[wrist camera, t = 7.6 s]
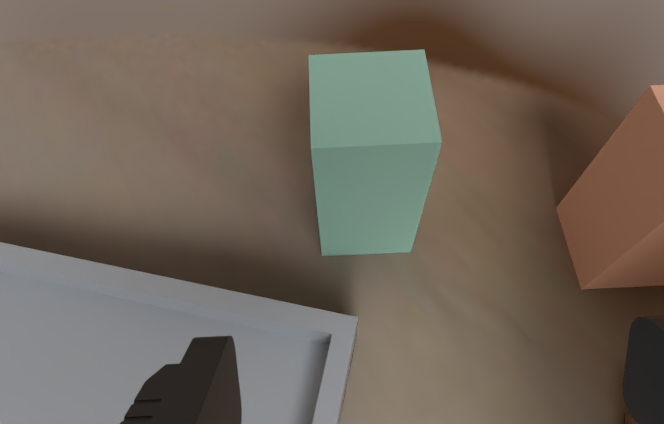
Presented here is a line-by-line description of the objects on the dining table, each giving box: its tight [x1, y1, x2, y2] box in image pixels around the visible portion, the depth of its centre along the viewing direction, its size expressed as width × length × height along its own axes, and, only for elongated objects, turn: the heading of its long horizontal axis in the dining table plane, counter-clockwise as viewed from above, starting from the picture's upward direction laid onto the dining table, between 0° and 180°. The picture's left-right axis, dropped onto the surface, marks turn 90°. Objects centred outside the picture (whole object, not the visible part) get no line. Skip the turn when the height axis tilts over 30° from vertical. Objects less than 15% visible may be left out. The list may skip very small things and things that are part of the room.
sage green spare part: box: [309, 50, 442, 256], centre depth 24 cm, size 5×5×10 cm
